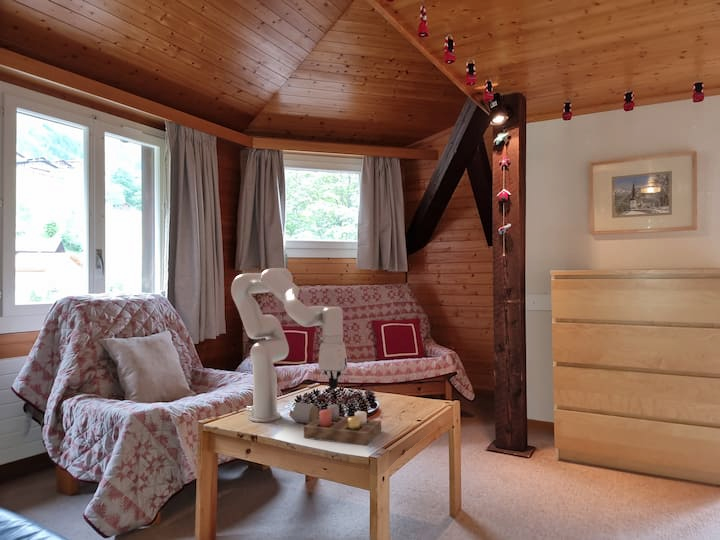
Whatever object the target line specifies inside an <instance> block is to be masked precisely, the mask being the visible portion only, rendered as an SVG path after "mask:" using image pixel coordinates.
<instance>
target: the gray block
mask: <svg viewBox="0 0 720 540" xmlns="http://www.w3.org/2000/svg"><path fill="white" fill-rule="evenodd" d="M326 409H328V410H331V411H332V422H336V421H339V417H340V405H338V404H330V405H329V404H328V405H327V406H326Z"/></svg>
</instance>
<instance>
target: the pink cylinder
mask: <svg viewBox="0 0 720 540" xmlns="http://www.w3.org/2000/svg"><path fill="white" fill-rule="evenodd" d="M318 417H319V426H320V427H330V426H332V411H331V410H328V409H327V408H326V409H320V410H318Z"/></svg>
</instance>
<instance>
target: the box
mask: <svg viewBox="0 0 720 540" xmlns="http://www.w3.org/2000/svg"><path fill="white" fill-rule="evenodd" d="M348 417H349V416H348ZM348 417H347V416H339V421H336V422H332V426H330V427H320V426H319V416H318V418H317V419H315V420H313V421H312V422H310V423H309V424H308V423H306V425H304V426H303V438H304V439H310V438H314V439H313V440H319V439H321V441H329V442H336V443H345V444H354V445H360V446H361V445H363V446H369V444H370V443H371V442H372V441H373V440H374V439H375V438H376V437H377V436H378V435H379V434H380V433H381V432H382V420H377V419H367V424H366V425H360V430H359V431H354V430H348Z"/></svg>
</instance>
